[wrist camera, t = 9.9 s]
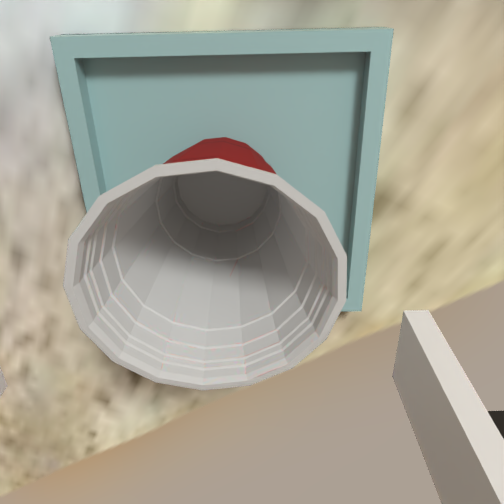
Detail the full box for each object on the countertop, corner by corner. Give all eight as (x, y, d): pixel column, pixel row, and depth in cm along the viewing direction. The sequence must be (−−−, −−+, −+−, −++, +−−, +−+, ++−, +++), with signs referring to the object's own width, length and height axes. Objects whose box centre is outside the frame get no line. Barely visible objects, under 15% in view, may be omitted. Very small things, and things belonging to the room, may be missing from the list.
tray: (115, 299, 33) (108, 314, 31) (63, 34, 24) (49, 36, 23) (356, 295, 32) (361, 311, 31) (384, 26, 24) (393, 28, 23)
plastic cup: (217, 291, 32) (198, 438, 21) (97, 174, 28) (0, 283, 17) (349, 198, 28) (407, 316, 18) (235, 49, 24) (221, 87, 14)
